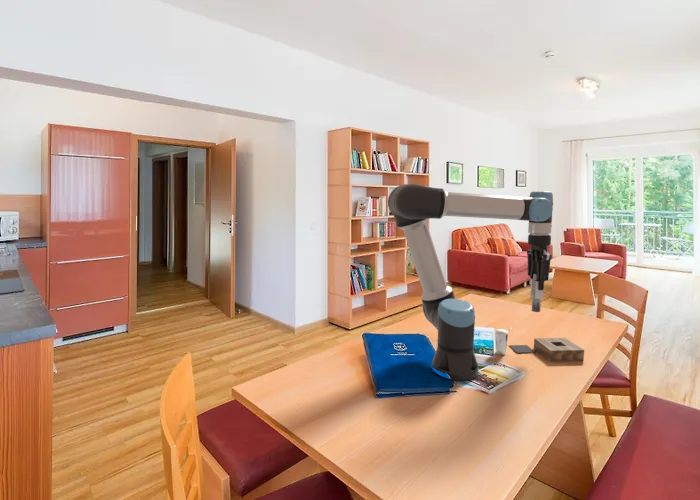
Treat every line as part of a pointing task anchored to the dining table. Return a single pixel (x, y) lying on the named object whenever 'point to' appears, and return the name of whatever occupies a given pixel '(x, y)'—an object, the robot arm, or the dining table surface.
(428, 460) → the dining table surface
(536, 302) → the pin
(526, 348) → the mat
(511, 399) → the dining table surface
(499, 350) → the milkshake
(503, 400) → the dining table surface
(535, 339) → the hole block
